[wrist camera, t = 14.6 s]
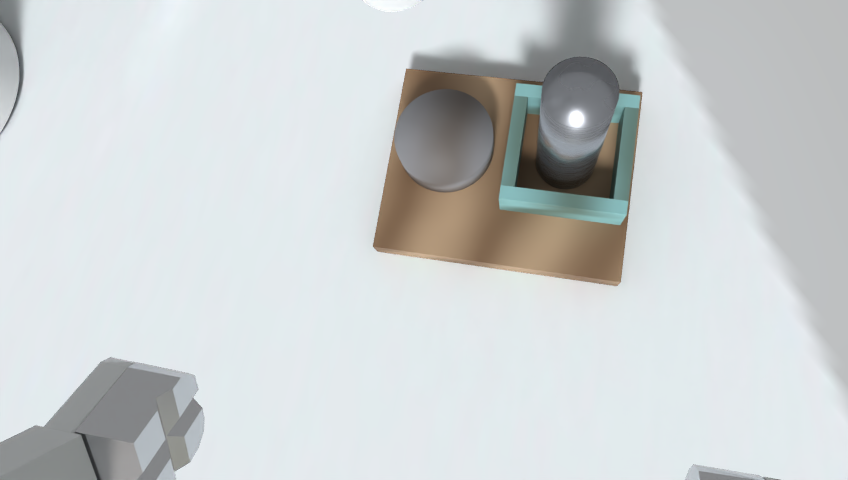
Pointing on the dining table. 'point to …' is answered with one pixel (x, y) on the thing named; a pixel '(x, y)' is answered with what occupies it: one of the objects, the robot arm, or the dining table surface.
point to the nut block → (501, 182)
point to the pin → (574, 120)
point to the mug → (392, 4)
